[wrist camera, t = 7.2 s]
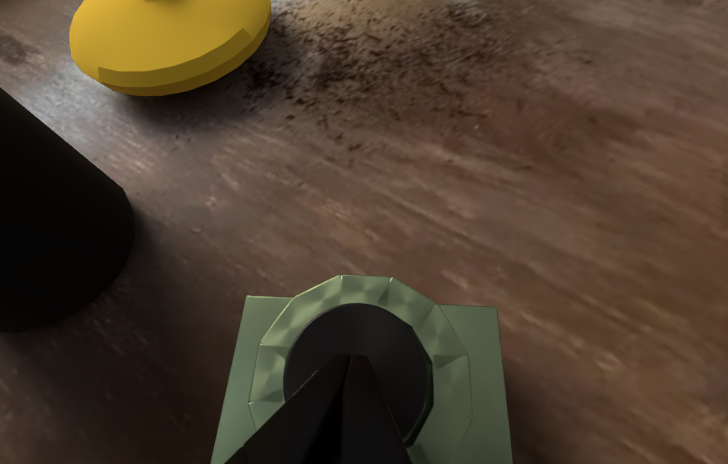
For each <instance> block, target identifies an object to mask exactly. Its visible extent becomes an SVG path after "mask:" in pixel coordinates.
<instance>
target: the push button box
mask: <svg viewBox="0 0 728 464" xmlns="http://www.w3.org/2000/svg"><path fill="white" fill-rule="evenodd" d="M348 303H366V304H371V305H375V306H378V307H381V308H384V309H386V310H388V311H390V312H391V313H393V314H395V315H396V316H397V317H399V318H400V319H401V320H402V321H403V322H404V323H405V324H406V325H407V326H408V327H409V328H410V329H411V330H412V332H413V333H414V335H415V336H416V338H417V339H418V341H419V343H420V345H421V347H422V350H423V353H424V356H425V359H426V364H427V369H428V391H427V397H426V401H425V405H424V408H423V411H422V413H421V415H420V417H419V420H418V421H417V423H416V425H415V426H414V428H413V429H412V430H411V432H410V433H409V434H408V435H407V437H406V438H405V439H403V442H404V444H405V447H406V449H407V451H408V454H409V456H410V461H412V463H413V464H513V459H512V449H511V439H510V429H509V419H508V409H507V399H506V389H505V379H504V369H503V360H502V350H501V340H500V330H499V320H498V310H497V307H489V306H467V305H445V304H437V303H436V302H434V301H433V300H431V299H429V298H428V297H426V296H424V295H423V294H421V293H419V292H418V291H416V290H414V289H413V288H411V287H409V286H408V285H406V284H404V283H403V282H401V281H399V280H398V279H396V278H394V277H390V276H371V275H345V274H343V275H337V276H335V277H333V278H331V279H329V280H327V281H325V282H323V283H321V284H319V285H317V286H315V287H313V288H311V289H309V290H307V291H305V292H303V293H301V294H298V295H296V296H295V297H294V298H292V297H270V296H246V299H245V304H244V309H243V313H242V318H241V323H240V327H239V332H238V337H237V341H236V346H235V351H234V355H233V360H232V365H231V369H230V374H229V379H228V383H227V388H226V393H225V397H224V402H223V407H222V411H221V416H220V421H219V425H218V430H217V435H216V439H215V444H214V449H213V453H212V458H211V463H210V464H224V463H225V462H226V461H227V460H228V459H229V458H230V457H231V456H232V455H233V454H234V453H235V452H236V451H237V450H238V449H239V448H240V447H243V445H244V443H245V442H246V441H247V440H248V439H249V438H250V437H251V436H252V435H253V434H254V433H255V432H256V431H257V430H258V429H259V428H260V427H261V426H262V425H263V424H264V423H265V422H266V421H267V420H268V419H269V418H270V417H271V416H272V415H273V414H274V413H275V412H276V411H277V410H278V409H279V408H280V407H281V406H282V405H283V404H284V403H285V399H284V392H283V373H284V366H285V362H286V358H287V355H288V352H289V350H290V348H291V346H292V343H293V341H294V340H295V338H296V337H297V335H298V334H299V332H300V331H301V330H302V329H303V327H304V326H305V325H306V324H307V323H308V322H309V321H310V320H312V319H313V318H314V317H316V316H317V315H318V314H320V313H322V312H323V311H325V310H327V309H330V308H332V307H335V306H338V305H342V304H348Z"/></svg>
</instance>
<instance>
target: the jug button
mask: <svg viewBox="0 0 728 464" xmlns="http://www.w3.org/2000/svg"><path fill="white" fill-rule="evenodd" d="M335 353H340V354H349V355H350V356H351V355H353V354H358V355H366V356H367V357H368V359H369V361H370V363H371V366H372V368H373V371H374V373H375V375H376V378H377V380H378V382H379V385H380V387H381V390H382V392H383V394H384V397H385V399H386V401H387V404H388V406H389V409H390V411H391V413H392V416H393V418H394V421H395V423H396V425H397V428H398V430H399V432H400V435H401V437H402V440H403V439H405V438H406V437H407V435H408V434H409V433H410V432H411V430H412V429H413V428H414V426H415V425H416V423H417V421H418V420H419V417H420V415H421V413H422V411H423V408H424V405H425V401H426V397H427V391H428V369H427V364H426V359H425V356H424V353H423V350H422V347H421V345H420V343H419V341H418V339H417V338H416V336H415V335H414V333H413V332H412V330H411V329H410V328H409V327H408V326H407V325H406V324H405V323H404V322H403V321H402V320H401V319H400V318H399V317H397V316H396V315H395V314H393V313H391V312H390V311H388V310H386V309H384V308H381V307H378V306H375V305H371V304H366V303H348V304H342V305H338V306H335V307H332V308H330V309H327V310H325V311H323V312H322V313H320V314H318V315H317V316H316V317H314V318H313V319H312V320H310V321H309V322H308V323H307V324H306V325H305V326H304V327H303V329H302V330H301V331H300V332H299V334H298V335H297V337H296V338H295V340H294V341H293V343H292V346H291V348H290V350H289V352H288V355H287V358H286V362H285V366H284V373H283V392H284V399H285V402H286V401H287V400H288V399H289V398H290V397H291V396H292V395H293V394H294V393H295V392H296V391H297V390H298V389H299V388H300V387H301V386H302V385H303V384H304V383H305V382H306V381H307V380H308V379H309V378H310V377H311V376H312V375H313V374H314V373H315V372H316V371H317V370H318V369H319V368H320V367H321V366H322V365H323V364H324V363H325V362H326V361H327V360H328V359H329V358H330V357H331V356H332V355H333V354H335Z"/></svg>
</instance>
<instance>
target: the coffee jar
mask: <svg viewBox="0 0 728 464" xmlns="http://www.w3.org/2000/svg"><path fill="white" fill-rule="evenodd" d="M133 240H134V234H133V210H132V208H131V205H130V203H129V201H128V199H127V196H126V194H125V192H124V190H123V188H121V187H120V186H119V185H118V184H117V183H115V182H114V181H113V180H112V179H111V178H109V177H108V176H107V175H106V174H105V173H103V172H102V171H101V170H100V169H98V168H97V167H96V166H95V165H94V164H92V163H91V162H90V161H89V160H88V159H86V158H85V157H84V156H83V155H82V154H80V153H79V152H78V151H77V150H75V149H74V148H73V147H72V146H71V145H69V144H68V143H67V142H66V141H65V140H63V139H62V138H61V137H60V136H58V135H57V134H56V133H55V132H54V131H52V130H51V129H50V128H49V127H48V126H46V125H45V124H44V123H43V122H42V121H40V120H39V119H38V118H37V117H35V116H34V115H33V114H32V113H31V112H29V111H28V110H27V109H26V108H25V107H23V106H22V105H21V104H20V103H19V102H17V101H16V100H15V99H14V98H12V97H11V96H10V95H9V94H8V93H6V92H5V91H4V90H3V89H2V88H0V332H21V331H26V330H29V329H32V328H36V327H39V326H42V325H46V324H49V323H52V322H56V321H57V320H59V319H62V318H65V317H67V316H69V315H71V314H72V313H74V312H76V311H77V310H79V309H81V308H82V307H84V306H86V305H88V304H89V303H91V302H92V301H93V300H94V299H95V298H96V297H97V296H98V295H100V294H101V293H102V292H103V291H104V290H105V289H106V288H107V287H108V286H109V285H110V284H111V283H112V282H113V280H114V279H115V277H116V276H117V274H118V273H119V271H120V270H121V268H122V267H123V265H124V264H125V262H126V261H127V258H128V255H129V252H130V249H131V246H132V243H133Z"/></svg>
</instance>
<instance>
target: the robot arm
mask: <svg viewBox="0 0 728 464" xmlns="http://www.w3.org/2000/svg"><path fill="white" fill-rule="evenodd" d="M224 464H413V463H412V461H410V456H409V454H408V451H407V449H406V447H405V444H404V442H403V440H402V437H401V435H400V432H399V430H398V428H397V425H396V423H395V421H394V418H393V416H392V413H391V411H390V409H389V406H388V404H387V401H386V399H385V397H384V394H383V392H382V390H381V387H380V385H379V382H378V380H377V378H376V375H375V373H374V371H373V368H372V366H371V363H370V361H369V359H368V357H367V356H366V355H358V354H353V355H351V356H350V355H349V354H340V353H335V354H333V355H332V356H331V357H330V358H329V359H328V360H327V361H326V362H325V363H324V364H323V365H322V366H321V367H320V368H319V369H318V370H317V371H316V372H315V373H314V374H313V375H312V376H311V377H310V378H309V379H308V380H307V381H306V382H305V383H304V384H303V385H302V386H301V387H300V388H299V389H298V390H297V391H296V392H295V393H294V394H293V395H292V396H291V397H290V398H289V399H288V400H287V401H286V402H285V403H284V404H283V405H282V406H281V407H280V408H279V409H278V410H277V411H276V412H275V413H274V414H273V415H272V416H271V417H270V418H269V419H268V420H267V421H266V422H265V423H264V424H263V425H262V426H261V427H260V428H259V429H258V430H257V431H256V432H255V433H254V434H253V435H252V436H251V437H250V438H249V439H248V440H247V441H246V442H245V443H244V445H243V447H240V448H239V449H238V450H237V451H236V452H235V453H234V454H233V455H232V456H231V457H230V458H229V459H228V460H227V461H226V462H225V463H224Z"/></svg>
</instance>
